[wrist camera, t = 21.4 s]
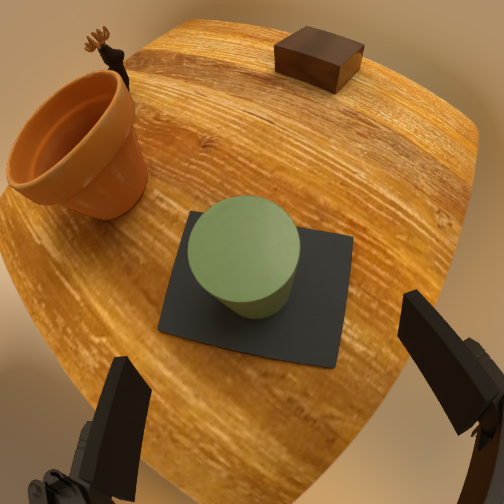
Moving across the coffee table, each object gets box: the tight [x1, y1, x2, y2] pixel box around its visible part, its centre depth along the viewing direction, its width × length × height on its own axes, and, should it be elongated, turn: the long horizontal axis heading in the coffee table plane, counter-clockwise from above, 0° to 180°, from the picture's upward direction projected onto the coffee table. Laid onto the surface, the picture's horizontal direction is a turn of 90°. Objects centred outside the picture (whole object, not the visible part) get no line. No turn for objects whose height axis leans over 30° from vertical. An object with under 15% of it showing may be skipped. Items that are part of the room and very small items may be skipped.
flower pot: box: [6, 70, 147, 220], centre depth 23 cm, size 14×14×13 cm
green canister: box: [188, 196, 300, 319], centre depth 19 cm, size 6×6×10 cm
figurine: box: [85, 26, 129, 91], centre depth 29 cm, size 11×7×15 cm
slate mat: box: [157, 211, 353, 368], centre depth 24 cm, size 16×12×1 cm
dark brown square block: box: [274, 26, 364, 94], centre depth 32 cm, size 10×10×5 cm
